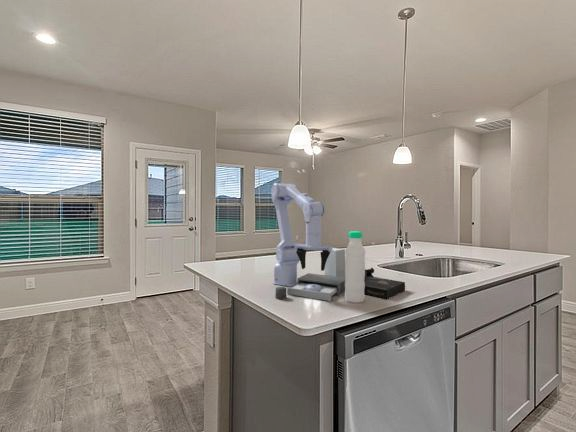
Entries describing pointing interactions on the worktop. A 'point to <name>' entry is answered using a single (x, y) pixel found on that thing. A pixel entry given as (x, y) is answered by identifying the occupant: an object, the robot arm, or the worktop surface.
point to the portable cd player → (382, 287)
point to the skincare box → (335, 263)
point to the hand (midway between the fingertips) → (313, 269)
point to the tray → (312, 292)
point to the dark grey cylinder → (280, 293)
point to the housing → (324, 281)
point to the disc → (313, 287)
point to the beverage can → (369, 272)
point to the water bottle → (355, 269)
